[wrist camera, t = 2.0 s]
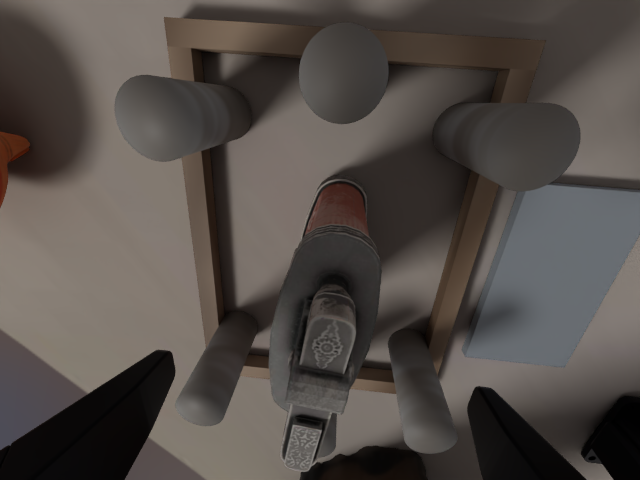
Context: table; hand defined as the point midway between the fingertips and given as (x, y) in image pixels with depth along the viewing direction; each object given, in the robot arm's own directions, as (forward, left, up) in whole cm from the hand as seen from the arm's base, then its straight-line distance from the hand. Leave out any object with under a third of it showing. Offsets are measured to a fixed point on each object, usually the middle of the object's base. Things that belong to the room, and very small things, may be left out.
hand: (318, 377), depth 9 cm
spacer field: (0, 0, -9) cm, 9 cm away
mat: (-12, +1, -9) cm, 15 cm away
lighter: (0, 0, -9) cm, 9 cm away
